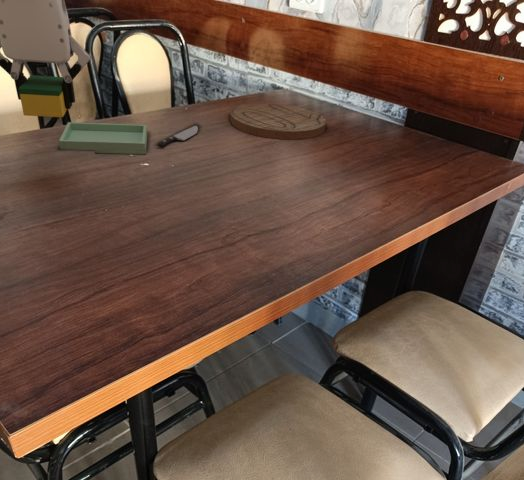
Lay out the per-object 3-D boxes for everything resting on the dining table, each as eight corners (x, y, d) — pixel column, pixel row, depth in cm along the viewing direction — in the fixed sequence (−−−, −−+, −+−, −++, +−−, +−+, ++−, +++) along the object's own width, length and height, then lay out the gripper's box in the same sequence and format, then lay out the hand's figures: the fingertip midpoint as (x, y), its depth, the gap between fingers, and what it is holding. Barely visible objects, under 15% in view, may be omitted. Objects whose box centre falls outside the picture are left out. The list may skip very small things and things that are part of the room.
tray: (60, 152, 106) (58, 140, 104) (69, 132, 115) (67, 122, 114) (145, 154, 108) (144, 143, 107) (147, 135, 118) (146, 124, 117)
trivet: (275, 106, 146) (276, 98, 145) (344, 129, 134) (345, 121, 133) (210, 118, 132) (210, 111, 131) (280, 146, 119) (281, 137, 118)
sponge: (23, 115, 81) (18, 88, 79) (35, 100, 88) (30, 75, 85) (62, 117, 82) (58, 90, 80) (71, 102, 89) (67, 77, 86)
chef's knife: (207, 129, 125) (196, 126, 126) (207, 124, 124) (196, 121, 125) (168, 150, 111) (156, 147, 112) (168, 145, 110) (156, 142, 111)
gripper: (90, -24, 77) (103, 102, 89) (-31, -35, 75) (-1, 97, 86) (83, -20, 72) (99, 115, 83) (-48, -32, 69) (-14, 109, 81)
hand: (48, 104), depth 85 cm, fingers closed on sponge, 6 cm apart
